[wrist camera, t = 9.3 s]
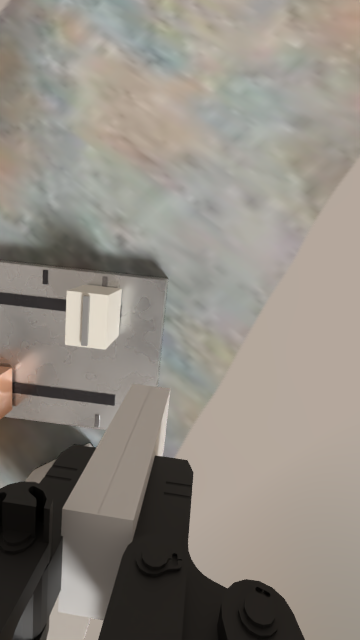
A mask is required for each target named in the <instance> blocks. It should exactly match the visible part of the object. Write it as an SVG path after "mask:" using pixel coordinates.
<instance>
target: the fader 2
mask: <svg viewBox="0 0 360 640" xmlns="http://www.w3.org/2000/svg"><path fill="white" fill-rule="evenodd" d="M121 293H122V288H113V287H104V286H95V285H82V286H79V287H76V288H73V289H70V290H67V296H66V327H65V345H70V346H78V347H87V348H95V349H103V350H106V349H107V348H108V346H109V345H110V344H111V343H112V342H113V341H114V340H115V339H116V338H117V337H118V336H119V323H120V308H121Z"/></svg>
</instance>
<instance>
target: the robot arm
mask: <svg viewBox="0 0 360 640" xmlns="http://www.w3.org/2000/svg"><path fill="white" fill-rule="evenodd" d="M169 397H170V389H169V388H162V387H154V386H147V385H140V384H132V386H131V387H130V389H129V391H128V393H127V394H126V396H125V398H124V400H123V402H122V403H121V405H120V407H119V409H118V410H117V412H116V414H115V416H114V418H113V419H112V421H111V423H110V425H109V426H108V428H107V430H106V432H105V434H104V435H103V437H102V439H101V441H100V442H99V444H98V446H97V448H95V447H88V446H82V445H75V444H74V445H73V446H71V447H70V448H68V449H67V450H65V451H64V452H62V453H61V454H60V455H59V457H58V458H57V459H56V461H55V462H54V463H53V465H52V467H51V468H50V469H49V470H48V472H47V473H46V475H45V477H43V479H42V480H41V482H40V483H36V482H18V483H14V484H9V485H7V486H5V487H3V488H1V489H0V640H46V639H47V635H48V631H49V616H50V614H51V611H52V609H53V607H54V605H55V602H56V600H57V598H58V595H59V604H58V612H61V613H67V614H72V615H78V616H83V617H89V618H94V619H100V620H104V621H103V625H102V628H101V632H100V636H99V639H98V640H305V639H304V637H303V635H302V632H301V630H300V628H299V626H298V623H297V621H296V619H295V616H294V614H293V612H292V610H291V609H290V607H289V606H288V604H287V602H286V601H285V599H284V598H283V597H282V596H281V595H280V594H279V593H277V592H276V591H275V590H274V589H273V588H272V587H270V586H268V585H266V584H264V583H262V582H260V581H254V580H242V581H239V582H235V583H233V584H232V585H231V586H230V587H229V588H228V589H227V588H225V587H223V586H221V585H220V584H218V583H216V582H214V581H212V580H211V579H209V578H207V577H206V576H204V575H203V574H202V573H201V572H200V571H199V570H198V569H197V568H196V566H195V565H194V563H193V562H192V560H191V557H190V554H189V552H188V533H189V521H190V508H191V496H192V483H193V471H192V469H191V467H190V465H189V463H188V461H187V460H182V459H175V458H169V457H162V455H163V451H164V442H165V433H166V424H167V415H168V406H169Z"/></svg>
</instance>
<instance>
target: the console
mask: <svg viewBox="0 0 360 640" xmlns="http://www.w3.org/2000/svg"><path fill="white" fill-rule="evenodd" d="M82 285H95V286H104V287H113V288H122V293H121V308H120V323H119V336H118V337H117V338H116V339H115V340H114V341H113V342H112V343H111V344H110V345H109V346H108V348H107V349H106V350H103V349H95V348H87V347H78V346H70V345H65V327H66V296H67V290H70V289H73V288H76V287H79V286H82ZM167 288H168V278H160V277H151V276H142V275H133V274H124V273H115V272H106V271H96V270H87V269H78V268H69V267H60V266H51V265H42V264H33V263H24V262H15V261H5V260H0V366H3V367H12V410H11V411H10V412H9V413H8V414H6V415H5V416H4V417H10V418H18V419H26V420H33V421H41V422H49V423H57V424H64V425H72V426H80V427H87V428H95V429H103V430H107V428H108V426H109V425H110V423H111V421H112V419H113V418H114V416H115V414H116V412H117V410H118V409H119V407H120V405H121V403H122V402H123V400H124V398H125V396H126V394H127V393H128V391H129V389H130V387H131V386H132V384H140V385H147V386H154V387H158V382H159V372H160V361H161V351H162V340H163V330H164V320H165V309H166V299H167Z"/></svg>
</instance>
